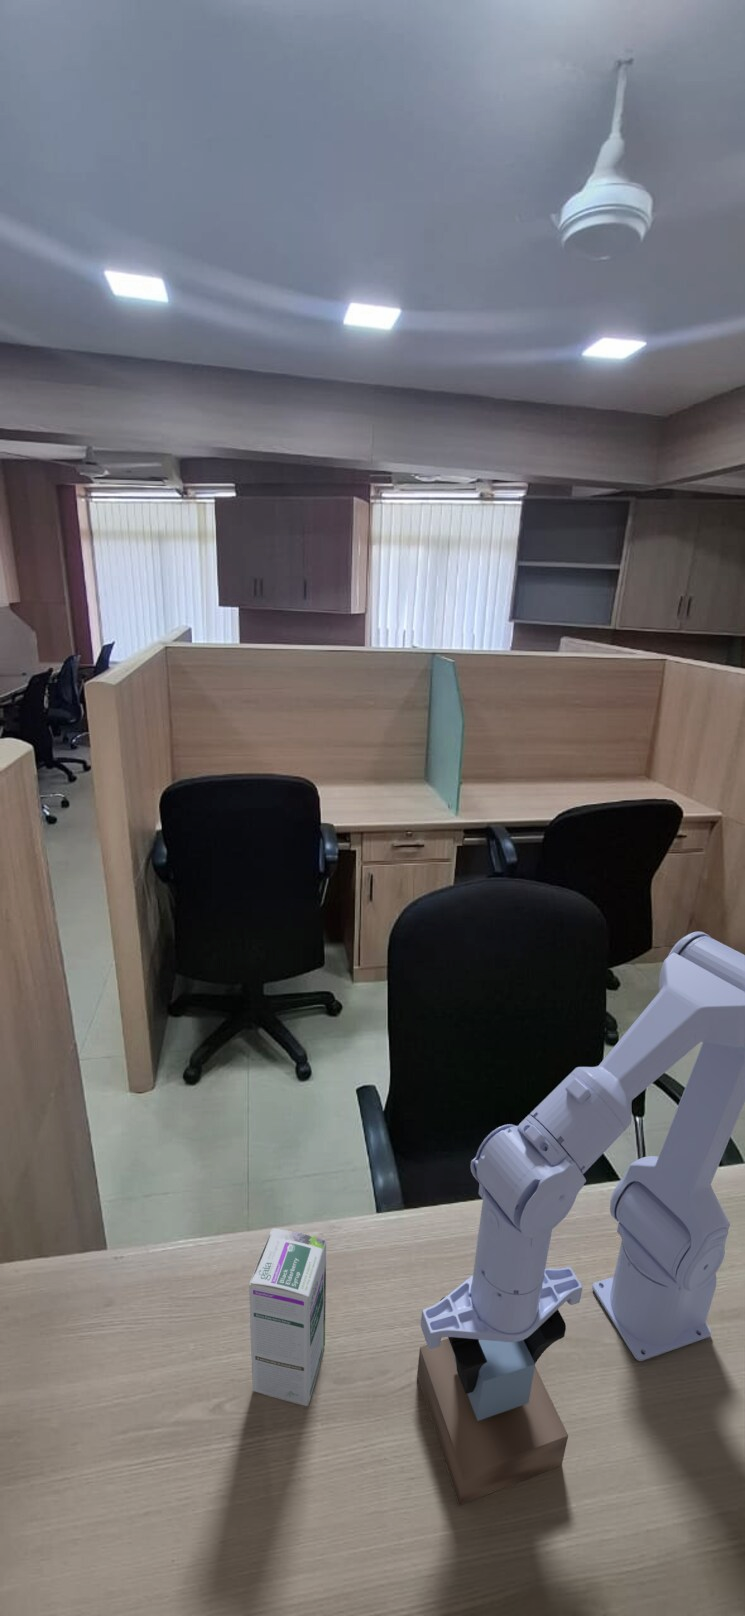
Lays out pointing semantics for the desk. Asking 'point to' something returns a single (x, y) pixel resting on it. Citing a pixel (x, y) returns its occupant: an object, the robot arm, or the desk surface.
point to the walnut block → (488, 1430)
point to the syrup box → (288, 1315)
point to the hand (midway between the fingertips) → (493, 1371)
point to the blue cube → (502, 1378)
